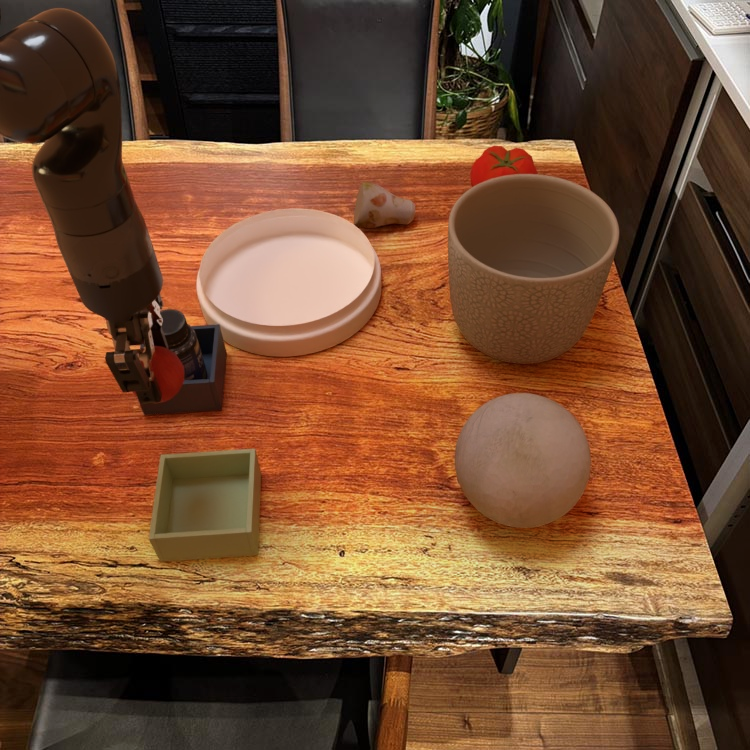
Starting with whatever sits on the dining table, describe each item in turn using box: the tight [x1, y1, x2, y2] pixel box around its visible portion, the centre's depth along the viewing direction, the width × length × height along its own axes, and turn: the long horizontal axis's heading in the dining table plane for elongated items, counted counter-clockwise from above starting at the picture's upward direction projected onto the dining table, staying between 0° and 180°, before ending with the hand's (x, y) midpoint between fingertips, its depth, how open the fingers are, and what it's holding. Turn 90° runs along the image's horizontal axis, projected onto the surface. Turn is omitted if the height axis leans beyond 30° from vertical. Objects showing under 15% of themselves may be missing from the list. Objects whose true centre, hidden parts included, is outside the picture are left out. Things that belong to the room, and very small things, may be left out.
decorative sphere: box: [454, 392, 592, 529], centre depth 90 cm, size 15×15×15 cm
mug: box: [353, 181, 416, 229], centre depth 128 cm, size 8×10×10 cm
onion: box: [132, 345, 184, 403], centre depth 83 cm, size 6×6×8 cm
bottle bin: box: [136, 324, 228, 416], centre depth 106 cm, size 10×10×6 cm
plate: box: [195, 207, 382, 358], centre depth 118 cm, size 27×27×6 cm
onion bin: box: [148, 448, 262, 563], centre depth 93 cm, size 11×11×5 cm
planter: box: [447, 173, 620, 365], centre depth 106 cm, size 21×21×19 cm
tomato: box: [470, 145, 539, 188], centre depth 131 cm, size 11×11×8 cm
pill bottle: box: [160, 308, 207, 381], centre depth 104 cm, size 6×6×11 cm
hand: (155, 375), depth 83 cm, fingers closed on onion, 6 cm apart
